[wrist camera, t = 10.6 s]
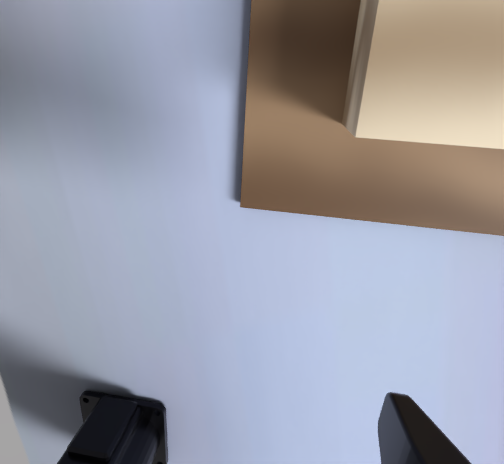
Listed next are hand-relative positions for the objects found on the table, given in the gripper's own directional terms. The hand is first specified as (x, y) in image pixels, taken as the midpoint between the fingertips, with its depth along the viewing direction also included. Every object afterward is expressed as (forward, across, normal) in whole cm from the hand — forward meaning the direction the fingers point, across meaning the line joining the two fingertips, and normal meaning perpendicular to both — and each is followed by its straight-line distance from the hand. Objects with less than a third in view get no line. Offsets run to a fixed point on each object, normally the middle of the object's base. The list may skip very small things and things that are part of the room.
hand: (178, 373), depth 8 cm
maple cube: (+11, -6, -8) cm, 15 cm away
